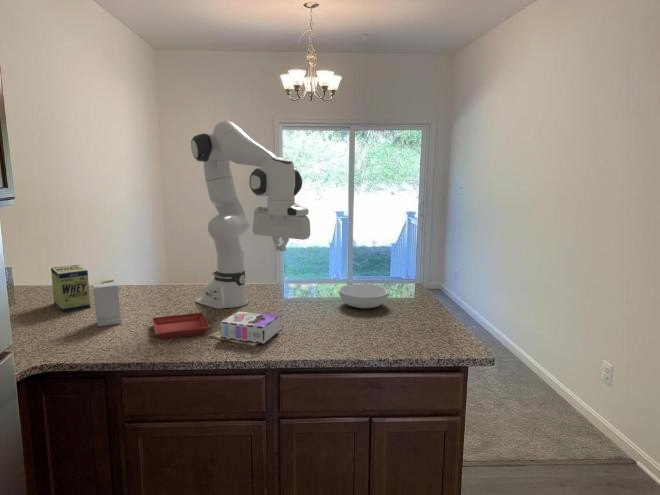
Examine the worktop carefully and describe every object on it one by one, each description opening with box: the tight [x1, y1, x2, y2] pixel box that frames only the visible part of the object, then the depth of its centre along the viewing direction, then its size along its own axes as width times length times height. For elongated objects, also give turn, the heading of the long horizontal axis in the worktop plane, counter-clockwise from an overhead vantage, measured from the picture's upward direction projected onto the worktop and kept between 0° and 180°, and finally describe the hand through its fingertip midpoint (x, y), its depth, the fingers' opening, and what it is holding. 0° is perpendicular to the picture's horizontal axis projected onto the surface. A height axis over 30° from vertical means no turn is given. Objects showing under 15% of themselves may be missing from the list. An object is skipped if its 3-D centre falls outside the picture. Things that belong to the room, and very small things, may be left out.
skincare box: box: [92, 281, 122, 327], centre depth 172 cm, size 8×6×15 cm
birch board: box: [209, 327, 283, 347], centre depth 165 cm, size 18×18×1 cm
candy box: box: [219, 310, 281, 344], centre depth 162 cm, size 14×6×16 cm
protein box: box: [50, 264, 91, 313], centre depth 192 cm, size 10×16×16 cm
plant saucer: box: [151, 312, 211, 340], centre depth 168 cm, size 18×18×3 cm
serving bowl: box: [338, 283, 389, 310], centre depth 200 cm, size 21×21×7 cm
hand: (280, 250), depth 154 cm, fingers closed
